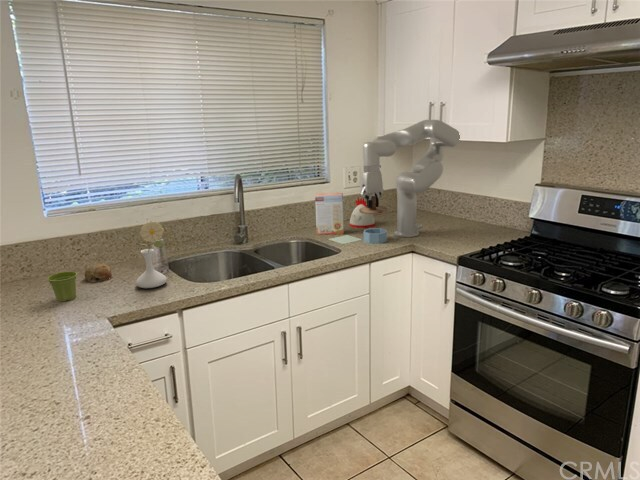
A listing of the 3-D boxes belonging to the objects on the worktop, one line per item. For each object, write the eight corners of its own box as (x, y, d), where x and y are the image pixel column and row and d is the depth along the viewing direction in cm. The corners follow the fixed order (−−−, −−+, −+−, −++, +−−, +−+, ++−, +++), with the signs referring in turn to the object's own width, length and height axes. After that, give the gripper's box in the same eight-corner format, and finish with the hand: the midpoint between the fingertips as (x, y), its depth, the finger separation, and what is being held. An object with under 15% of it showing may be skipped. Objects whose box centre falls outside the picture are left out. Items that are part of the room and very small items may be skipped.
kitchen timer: (359, 221, 273) (359, 195, 269) (379, 224, 264) (379, 197, 260) (344, 226, 263) (344, 199, 259) (365, 229, 254) (364, 202, 250)
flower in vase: (130, 290, 177) (120, 225, 170) (145, 280, 187) (136, 217, 181) (163, 291, 175) (155, 225, 168) (176, 280, 186) (169, 217, 179)
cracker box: (344, 232, 250) (343, 192, 244) (343, 235, 244) (342, 194, 239) (317, 232, 251) (316, 193, 246) (316, 235, 246) (314, 195, 240)
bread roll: (85, 291, 188) (81, 276, 183) (87, 273, 196) (83, 258, 191) (112, 287, 191) (108, 273, 186) (113, 270, 198) (110, 255, 193)
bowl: (376, 236, 239) (376, 227, 238) (391, 241, 230) (391, 231, 229) (359, 240, 233) (359, 230, 232) (374, 245, 224) (374, 235, 223)
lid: (374, 206, 237) (374, 192, 235) (392, 210, 226) (392, 196, 225) (353, 210, 230) (353, 197, 228) (371, 215, 220) (370, 200, 218)
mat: (347, 235, 243) (347, 234, 243) (362, 240, 233) (362, 239, 233) (328, 239, 236) (328, 239, 236) (342, 244, 227) (342, 244, 227)
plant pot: (69, 304, 166) (65, 280, 163) (45, 303, 167) (40, 279, 165) (86, 294, 175) (82, 271, 172) (63, 293, 176) (59, 271, 174)
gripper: (379, 166, 230) (381, 203, 235) (352, 170, 222) (354, 209, 227) (390, 167, 224) (391, 205, 229) (362, 171, 215) (364, 211, 221)
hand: (372, 207), depth 228 cm, fingers closed on lid, 3 cm apart
